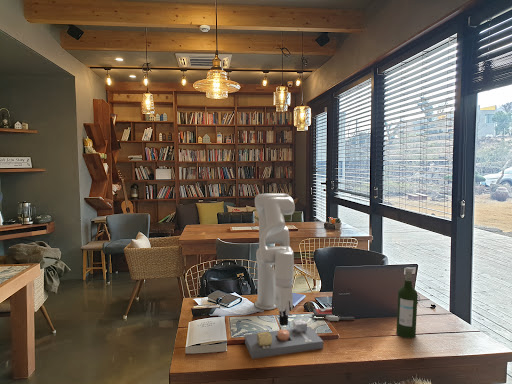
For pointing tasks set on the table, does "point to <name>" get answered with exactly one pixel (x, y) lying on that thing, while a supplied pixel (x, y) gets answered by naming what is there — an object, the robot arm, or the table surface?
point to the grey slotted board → (284, 343)
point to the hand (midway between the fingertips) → (283, 324)
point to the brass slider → (264, 338)
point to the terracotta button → (283, 335)
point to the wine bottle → (407, 308)
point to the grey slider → (299, 325)
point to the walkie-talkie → (328, 314)
